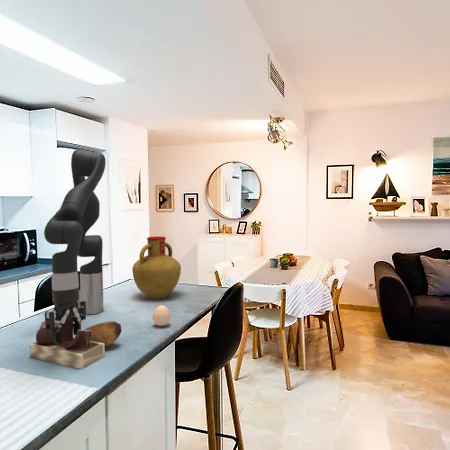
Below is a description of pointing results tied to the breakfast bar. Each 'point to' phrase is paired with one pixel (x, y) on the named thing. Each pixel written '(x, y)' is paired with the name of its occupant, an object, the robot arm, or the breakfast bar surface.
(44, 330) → the bracket
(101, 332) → the potato
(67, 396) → the breakfast bar surface
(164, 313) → the egg
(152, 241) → the vase
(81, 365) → the wooden tray
